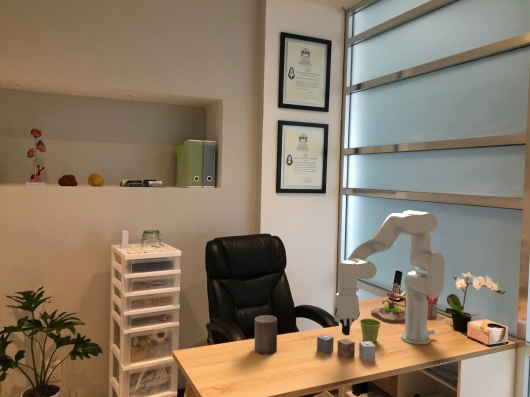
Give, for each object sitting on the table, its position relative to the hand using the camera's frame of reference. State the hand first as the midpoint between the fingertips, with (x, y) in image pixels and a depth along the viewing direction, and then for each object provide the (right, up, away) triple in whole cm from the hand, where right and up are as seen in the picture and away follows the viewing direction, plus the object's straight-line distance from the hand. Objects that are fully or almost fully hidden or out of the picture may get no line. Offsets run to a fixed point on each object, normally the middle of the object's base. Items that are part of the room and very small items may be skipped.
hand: (345, 334), depth 173 cm
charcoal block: (-8, -9, +5) cm, 13 cm away
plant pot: (+14, -9, +17) cm, 24 cm away
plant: (+35, -8, +51) cm, 62 cm away
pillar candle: (-34, -9, +5) cm, 35 cm away
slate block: (+9, -9, -1) cm, 13 cm away
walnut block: (0, -9, +1) cm, 9 cm away
